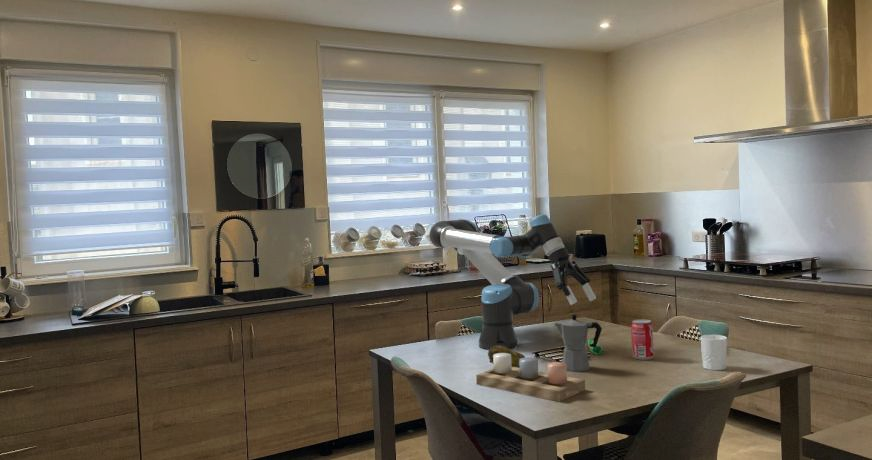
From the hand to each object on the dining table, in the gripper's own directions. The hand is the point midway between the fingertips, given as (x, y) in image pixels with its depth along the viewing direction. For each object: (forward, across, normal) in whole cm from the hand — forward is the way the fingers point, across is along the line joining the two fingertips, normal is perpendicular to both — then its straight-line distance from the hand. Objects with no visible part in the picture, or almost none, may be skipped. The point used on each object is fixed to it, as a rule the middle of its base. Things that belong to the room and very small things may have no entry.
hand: (583, 301), depth 243 cm
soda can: (+27, +3, -8) cm, 28 cm away
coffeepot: (+22, -21, +2) cm, 31 cm away
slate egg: (+19, -48, +2) cm, 52 cm away
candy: (+17, +3, +8) cm, 19 cm away
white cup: (+40, +4, -28) cm, 49 cm away
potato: (+12, -35, +18) cm, 41 cm away
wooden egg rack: (+22, -48, +3) cm, 53 cm away
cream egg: (+14, -48, +10) cm, 51 cm away
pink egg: (+25, -48, -7) cm, 55 cm away
